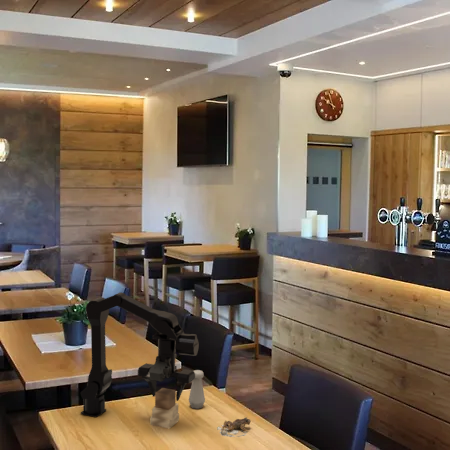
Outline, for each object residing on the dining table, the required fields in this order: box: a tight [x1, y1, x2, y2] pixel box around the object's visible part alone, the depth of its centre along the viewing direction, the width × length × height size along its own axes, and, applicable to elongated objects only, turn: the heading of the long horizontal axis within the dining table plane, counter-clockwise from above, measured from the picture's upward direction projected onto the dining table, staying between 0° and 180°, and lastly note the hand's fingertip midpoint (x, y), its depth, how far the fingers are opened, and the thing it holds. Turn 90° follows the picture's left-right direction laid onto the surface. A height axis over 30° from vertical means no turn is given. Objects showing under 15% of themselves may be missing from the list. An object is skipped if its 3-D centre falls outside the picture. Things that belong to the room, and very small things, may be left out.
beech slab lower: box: [149, 412, 180, 429], centre depth 203 cm, size 7×7×3 cm
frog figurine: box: [216, 417, 252, 438], centre depth 200 cm, size 12×12×4 cm
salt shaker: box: [188, 369, 206, 410], centre depth 218 cm, size 6×6×13 cm
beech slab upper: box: [151, 402, 179, 420], centre depth 203 cm, size 7×7×3 cm
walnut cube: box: [154, 387, 177, 410], centre depth 203 cm, size 5×5×5 cm
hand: (165, 398), depth 203 cm, fingers open, 8 cm apart
